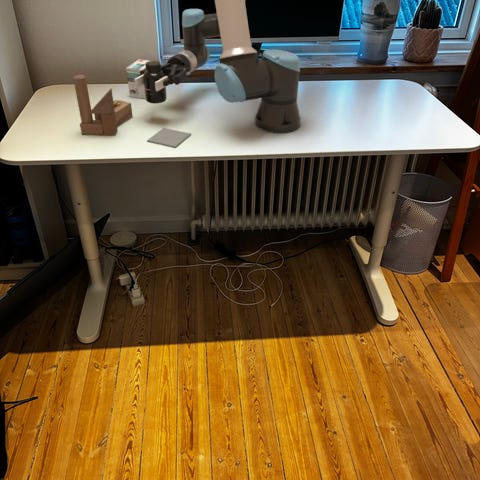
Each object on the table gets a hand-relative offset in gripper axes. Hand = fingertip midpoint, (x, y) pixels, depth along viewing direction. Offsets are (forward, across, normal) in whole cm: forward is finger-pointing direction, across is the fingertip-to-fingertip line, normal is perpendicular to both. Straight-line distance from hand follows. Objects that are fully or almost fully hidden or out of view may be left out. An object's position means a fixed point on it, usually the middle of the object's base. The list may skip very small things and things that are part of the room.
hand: (146, 85), depth 156 cm
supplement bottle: (-5, 0, -7) cm, 8 cm away
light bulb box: (-24, +18, -13) cm, 33 cm away
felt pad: (+5, -10, -14) cm, 18 cm away
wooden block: (+11, +12, -14) cm, 21 cm away
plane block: (+2, +12, -14) cm, 19 cm away
